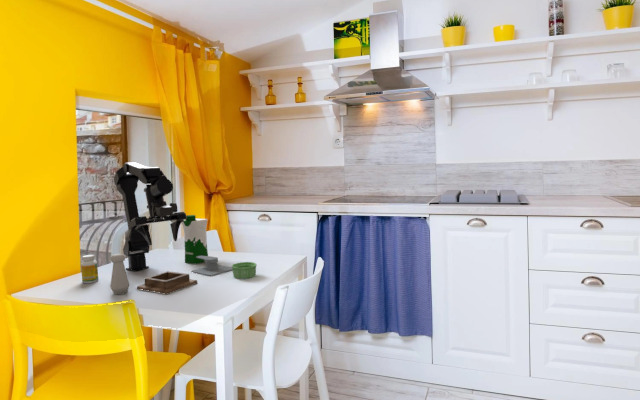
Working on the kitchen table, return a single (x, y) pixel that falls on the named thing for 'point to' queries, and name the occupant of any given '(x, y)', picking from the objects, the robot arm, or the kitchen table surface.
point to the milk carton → (195, 239)
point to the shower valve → (211, 267)
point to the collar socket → (167, 282)
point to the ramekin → (244, 270)
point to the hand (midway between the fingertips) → (163, 243)
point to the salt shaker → (119, 275)
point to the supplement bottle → (89, 269)
